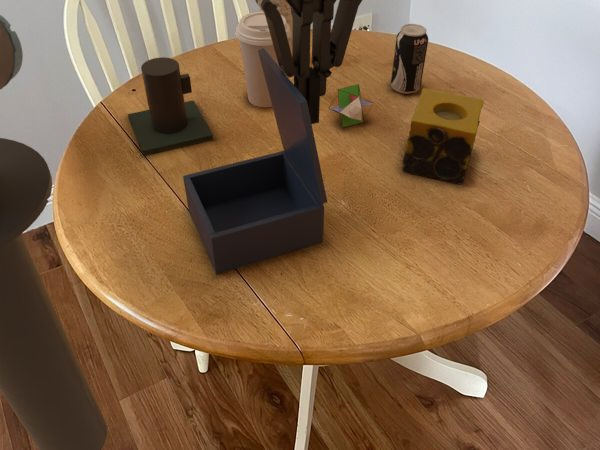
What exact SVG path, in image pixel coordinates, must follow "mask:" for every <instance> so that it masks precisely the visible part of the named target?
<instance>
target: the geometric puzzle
mask: <svg viewBox="0 0 600 450" xmlns="http://www.w3.org/2000/svg"><path fill="white" fill-rule="evenodd" d="M363 91H364V93H366V92H365V90H363ZM366 96H368V94H366ZM368 97H369V96H368ZM337 98H338V99H337ZM336 99H337V100H338V101H337V102H338V103H339V105H337V106H333V107H331V106H332V105H333V103H334V102H335V100H336ZM367 105H371V106H373V105H374V102H373V101H369V100H368V99H365V98H364V97H362V93H361V86H360V83H357V84H353V85H349V86H346V87H342V88H337V95H336V97H335V98H334V99H333V100H332V101H331V102H330V105H328V108H327V110H330V111H333V112H335V113H337V114H339V117H340V122H341V128H345V127H349V126H353V125H356V124H360V123H364V121H365V120H364V114H363V113H364V111H363V107H364V106H367ZM369 111H370V110H368V111H367V112H366V115H368V114H369ZM333 116H334V115H333ZM334 118H336V117H335V116H334ZM336 120H337V121H338V122H339V120H338V119H336Z"/></svg>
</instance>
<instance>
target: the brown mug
mask: <svg viewBox="0 0 600 450" xmlns="http://www.w3.org/2000/svg"><path fill="white" fill-rule="evenodd" d="M180 69H181V68H180V63H179V62H178V60H176V59H174V58H171V57H163V56H162V57H155V58H151V59H148V60H146V61H145V62H143V63H142V64H141V67H140V70H141V75H142V80H143V85H144V90H145V97H146V101H147V107H148V110H149V111H150V116H151V121H152V126H153V129H154V130H155V131H157V132H159V133H163V134H172V133H177V132H179V131H181V130H183V129H184V128H185V127H186V126H187V123H188V122H187V116H186V109H185V102H186V101H185V95H186V94H187V95H188V94H192V93H193V90H192V82H191V81H192V80H191V76H190V75H189V73H183V74H181V70H180Z"/></svg>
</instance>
